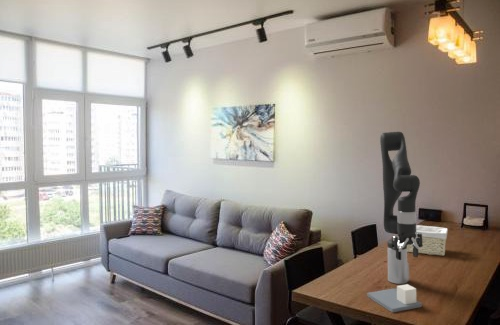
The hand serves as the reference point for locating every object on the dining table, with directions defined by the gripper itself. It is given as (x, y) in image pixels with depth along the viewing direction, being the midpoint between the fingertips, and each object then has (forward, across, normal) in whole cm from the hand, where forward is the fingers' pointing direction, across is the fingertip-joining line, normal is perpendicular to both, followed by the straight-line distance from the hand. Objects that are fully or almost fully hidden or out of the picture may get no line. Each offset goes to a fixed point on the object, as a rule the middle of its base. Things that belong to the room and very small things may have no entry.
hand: (407, 258), depth 167 cm
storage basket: (+21, -62, -58) cm, 88 cm away
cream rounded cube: (+19, +1, 0) cm, 19 cm away
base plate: (+20, +4, -4) cm, 21 cm away
